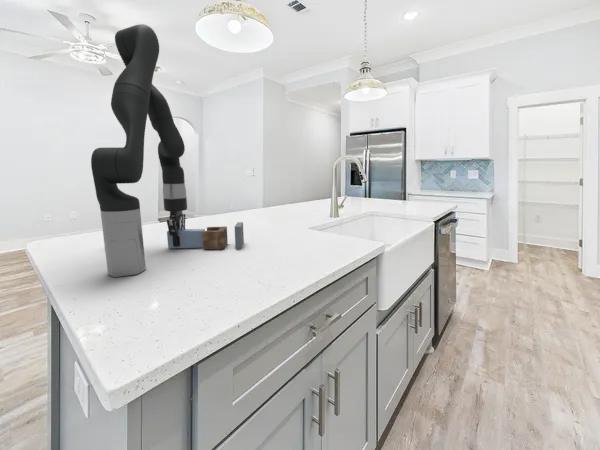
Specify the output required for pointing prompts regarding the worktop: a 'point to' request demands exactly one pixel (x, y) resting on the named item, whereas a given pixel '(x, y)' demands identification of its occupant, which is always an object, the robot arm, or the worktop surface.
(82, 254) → the worktop surface
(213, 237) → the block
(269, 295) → the worktop surface
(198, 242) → the peg
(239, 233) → the wall
